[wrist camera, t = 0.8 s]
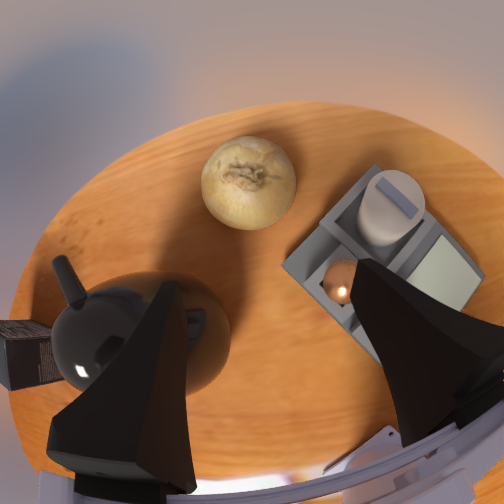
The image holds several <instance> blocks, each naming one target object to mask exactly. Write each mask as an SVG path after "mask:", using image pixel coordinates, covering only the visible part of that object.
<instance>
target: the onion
mask: <svg viewBox="0 0 504 504" xmlns="http://www.w3.org/2000/svg"><path fill="white" fill-rule="evenodd" d="M201 189H202V197H203V200H204V203H205V205H206V207H207V208H208V210H209V211H210V213H211V214H212V215H213V216H214V217H215V218H216V219H218V220H219V221H220V222H222V223H224V224H225V225H227V226H229V227H232V228H235V229H242V230H260V229H264V228H266V227H269V226H271V225H273V224H275V223H276V222H277V221H279V220H280V219H281V218H282V217H283V216H284V215H285V214H286V213H287V211H288V210H289V208H290V207H291V205H292V203H293V200H294V197H295V193H296V176H295V172H294V168H293V166H292V163H291V161H290V159H289V158H288V156H287V154H286V153H285V152H284V150H283V149H281V148H280V147H279V146H278V145H277V144H276V143H274V142H272V141H270V140H268V139H264V138H261V137H256V136H242V137H236V138H234V139H231V140H229V141H227V142H225V143H223V144H222V145H220V146H219V147H218V148H217V149H216V150H215V151H214V152H213V153H212V155H211V156H210V157H209V159H208V160H207V162H206V164H205V166H204V168H203V171H202V176H201Z"/></svg>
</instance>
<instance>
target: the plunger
mask: <svg viewBox="0 0 504 504" xmlns="http://www.w3.org/2000/svg"><path fill="white" fill-rule="evenodd" d="M356 266H357V263H356V262H354V261H351V260H339V261H336V262H334V263H333V264H331V265H330V266H329V267H328V269H327V270H326V272H325V274H324V278H323V288H324V291H325V293H326V295H327V296H328V297H329V298H330V299H331V300H332V301H334V302H336V303H339V304H351V300H350V297H349V296H350V292H351V288H352V284H353V279H354V275H355V271H356Z"/></svg>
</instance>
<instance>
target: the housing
mask: <svg viewBox="0 0 504 504" xmlns="http://www.w3.org/2000/svg"><path fill="white" fill-rule="evenodd" d="M382 171H383V170H382V169H381V168H380V167H379V166H377V165H376V164H375V163H374V164H373V165H372V166H371V167H370V168H369V169H368V170H367V172H366V173H365V174H364V175H363V176H362V177H361V178H360V179H359V180H358V181H357V182H356V183H355V185H354V186H353V187H352V188H351V189H350V190H349V191H348V192H347V193H346V194H345V195H344V196H343V197H342V198H341V200H340V201H339V202H338V203H337V204H336V205H335V206H334V207H333V208H332V209H331V210H330V211H329V212H328V213H327V214H326V215H325V216H324V218H323V219H322V220H321V221H320V222H319V224H320V225H319V226H318V227H317V228H316V229H315V230H314V231H313V232H312V233H311V235H310V236H309V237H308V238H307V239H306V240H305V241H304V242H303V243H302V244H301V245H300V246H299V247H298V248H297V249H296V250H295V251H294V252H293V253H292V254H291V255H290V256H289V257H288V258H287V259H286V260H285V261H284V262H283V263H282V264H281V266H282V267H283V268H284V269H285V270H286V271H287V272H288V273H289V274H290V275H291V276H292V277H293V278H294V279H295V280H296V281H297V282H298V283H299V284H300V285H301V286H302V287H303V288H304V289H305V290H306V291H307V292H308V293H309V294H310V295H311V296H312V297H313V298H314V299H315V300H316V301H317V302H318V303H319V304H320V305H321V306H322V307H323V308H324V309H325V310H326V311H327V312H328V313H329V314H330V315H331V316H332V317H333V318H334V319H335V320H336V321H337V322H338V323H339V324H340V325H341V326H342V327H343V328H344V329H345V330H346V331H347V332H348V333H349V334H350V335H351V336H352V337H353V338H354V340H355V341H356V342H357V343H358V344H359V345H360V346H361V347H362V348H363V349H364V350H365V351H366V352H367V353H368V354H369V355H370V356H371V357H372V358H373V359H374V360H375V361H376V362H377V363H378V364H379V365H380V366H381V367H382V365H381V362H380V360H379V358H378V356H377V354H376V352H375V350H374V348H373V346H372V344H371V342H370V341H369V339H368V337H367V335H366V333H365V331H364V329H363V327H362V325H361V324H360V322H359V320H358V318H357V316H356V313H355V311H354V308H353V305H352V303H351V304H339V303H336V302H334V301H332V300H331V299H330V298H329V297H328V296H327V295H326V293H325V291H324V288H323V278H324V274H325V272H326V270H327V269H328V267H329V266H330V265H331V264H333V263H334V262H336V261H339V260H351V261H354V262H356V263H357V262H358V259H366V258H372V259H373V260H375V261H377V262H378V263H380V264H382V265H383V266H385V267H386V268H388V269H389V270H391V271H392V272H394V273H395V274H397V275H398V276H400V277H401V278H403V279H404V280H406V281H407V282H409V283H410V284H412V285H413V286H415V287H416V288H418V289H419V290H421V291H423V292H424V293H426V294H427V295H429V296H431V297H432V298H434V299H436V300H438V301H439V302H441V303H443V304H445V305H447V306H449V307H451V308H453V309H455V310H457V311H459V312H461V311H462V310H463V308H464V307H465V305H466V304H467V303H468V301H469V300H470V298H471V297H472V295H473V294H474V292H475V291H476V289H477V288H478V286H479V285H480V283H481V282H482V280H483V279H484V277H485V275H484V273H483V272H482V271H481V269H480V268H479V267H478V266H477V265H476V263H475V262H474V261H473V260H472V259H471V257H470V256H469V255H468V254H467V253H466V252H465V250H464V249H463V248H462V247H461V246H460V245H459V244H458V242H457V241H456V240H455V239H454V238H453V237H452V236H451V235H450V234H449V233H448V232H447V230H446V229H445V228H444V227H443V226H442V225H441V224H440V223H439V222H438V221H437V220H436V219H435V218H434V217H433V216H432V215H431V214H430V213H429V212H428V211H427V210H426V209H425V211H424V214H423V217H422V219H421V220H420V222H419V223H418V224H417V225H416V226H415V227H413V228H412V229H411V230H410V231H409V232H407V233H406V234H405V235H404V236H402V237H401V238H400V239H399V240H398V241H396V242H395V243H394V244H392V245H391V246H389V247H386V248H374V247H371V246H369V245H368V244H366V243H365V242H364V241H363V240H362V239H361V238H360V236H359V235H358V232H357V230H356V224H355V221H356V216H357V213H358V210H359V207H360V205H361V202H362V199H363V197H364V194H365V191H366V188H367V186H368V184H369V182H370V180H371V179H372V178H373V177H374V176H375V175H376V174H378V173H380V172H382ZM382 368H383V367H382Z"/></svg>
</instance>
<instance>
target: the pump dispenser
mask: <svg viewBox="0 0 504 504" xmlns="http://www.w3.org/2000/svg"><path fill="white" fill-rule="evenodd" d="M52 267H53V270H54V273H55V275H56V278H57V281H58V283H59V286H60V288H61V291H62V293H63V296H64V298H65V301H66V303H67V306H66V307H65V308H64V310H63V311H62V312H61V313H60V314H59V316H58V317H57V319H56V321H55V322H54V325H53V327H52V331H51V337H50V346H51V353H52V357H53V360H54V363H55V365H56V367H57V369H58V371H59V372H60V374H61V375H62V376H63V378H64V379H65V380H66V381H67V382H68V383H69V384H70V385H72V386H73V387H74V388H76V389H77V390H79V391H81V392H84V391H85V390H86V389H87V388H88V387H89V386H90V385H91V384H92V383H93V382H94V381H95V380H96V379H97V378H98V377H99V376H100V375H101V373H102V372H103V371H104V370H105V369H106V368H107V366H108V365H109V364H110V363H111V362H112V360H113V359H114V358H115V357H116V355H117V354H118V353H119V351H120V350H121V349H122V347H123V346H124V345H125V343H126V342H127V340H128V339H129V337H130V336H131V334H132V333H133V331H134V330H135V328H136V327H137V325H138V323H139V322H140V320H141V318H142V317H143V315H144V313H145V312H146V310H147V308H148V306H149V305H150V303H151V301H152V299H153V297H154V295H155V294H156V292H157V290H158V288H159V286H160V284H161V283H162V282H164V281H175V280H178V282H179V287H180V291H181V295H182V299H183V303H184V307H185V311H186V315H187V324H188V354H187V370H186V396H189V395H191V394H194V393H196V392H198V391H200V390H202V389H203V388H205V387H206V386H208V385H209V384H210V383H211V382H213V381H214V380H215V379H216V378H217V376H218V375H219V374H220V373H221V371H222V369H223V368H224V366H225V364H226V361H227V358H228V355H229V351H230V343H231V333H230V326H229V321H228V318H227V315H226V312H225V310H224V307H223V305H222V304H221V302H220V300H219V299H218V297H217V296H216V295H215V293H214V292H213V291H212V290H211V289H210V288H209V287H208V286H207V285H206V284H204V283H203V282H202V281H200V280H199V279H197V278H195V277H193V276H191V275H188V274H185V273H182V272H177V271H169V270H155V271H142V272H135V273H130V274H126V275H122V276H118V277H115V278H112V279H109V280H107V281H104V282H102V283H100V284H98V285H96V286H94V287H92V288H91V289H89V290H87V291H86V290H85V288H84V287H83V285H82V283H81V281H80V280H79V278H78V276H77V274H76V273H75V271H74V269H73V267H72V265H71V263H70V261H69V260H68V258H67V256H66V255H59V256H57V257H55V258H54V259H53V260H52Z"/></svg>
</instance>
